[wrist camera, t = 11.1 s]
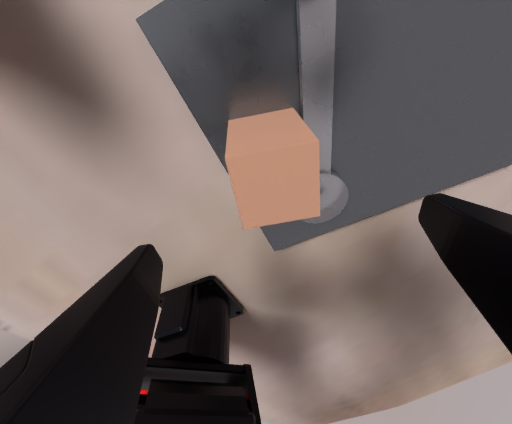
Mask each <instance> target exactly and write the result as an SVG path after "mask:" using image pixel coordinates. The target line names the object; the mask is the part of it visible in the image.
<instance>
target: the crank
mask: <svg viewBox="0 0 512 424" xmlns="http://www.w3.org/2000/svg"><path fill="white" fill-rule="evenodd" d="M296 10H297V33H298V56H299V79H300V103H301V118H302V120H303V121H304V122H305V123H306V125H307V126H308V127H309V129H310V130H311V131H312V132H313V134H314V135H315V136H316V137H317V139H318V140H319V161H320V216H318V217H312V218H307V219H301V220H302V221H304V222H307V223H322V222H326V221H328V220H330V219H332V218H334V217H336V216H337V215H338V214H339V213H340V212H341V211H342V210H343V209H344V207H345V206H346V204H347V201H348V196H349V193H348V189H347V186H346V184H345V183H344V182H343V180H342V179H341V178H340V176H339V175H338V174H337V173H336V172H334V171H333V170H331V150H332V119H333V89H334V58H335V28H336V0H296Z"/></svg>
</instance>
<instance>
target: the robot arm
mask: <svg viewBox="0 0 512 424" xmlns="http://www.w3.org/2000/svg"><path fill="white" fill-rule="evenodd" d="M419 222H420V224H421V226H422V228H423V229H424V231H425V233H426V235H427V236H428V238H429V240H430V241H431V243H432V245H433V246H434V248H435V250H436V251H437V253H438V255H439V256H440V258H441V260H442V261H443V263H444V264H445V266H446V267H447V268H448V270H449V271H450V272H451V274H452V275H453V276H454V278H455V279H456V280H457V282H458V283H459V284H460V286H461V287H462V289H463V290H464V291H465V293H466V294H467V295H468V297H469V298H470V299H471V301H472V302H473V303H474V305H475V306H476V307H477V309H478V310H479V311H480V313H481V314H482V315H483V317H484V318H485V319H486V321H487V322H488V323H489V325H490V326H491V327H492V329H493V330H494V331H495V333H496V334H497V335H498V337H499V338H500V339H501V341H502V342H503V343H504V345H505V346H506V347H507V349H508V350H509V351H510V353H511V354H512V215H511V214H507V213H504V212H501V211H497V210H494V209H491V208H488V207H484V206H481V205H478V204H474V203H471V202H468V201H464V200H461V199H458V198H455V197H451V196H448V195H445V194H441V193H438V194H432V195H427V196H426V197H425V198H424V199H423V202H422V206H421V209H420V212H419ZM162 271H163V262H162V259H161V258H160V256H159V254H158V253H157V251H156V249H155V248H154V246H153V245H152V244H146V245H140V246H138V247H137V248H136V249H134V250H133V251H132V252H131V253H130V254H129V255H128V256H126V257H125V258H124V259H123V260H122V261H121V262H120V263H119V264H117V265H116V266H115V267H114V268H113V269H112V270H111V271H110V272H108V273H107V274H106V275H105V276H104V277H103V278H102V279H100V280H99V281H98V282H97V283H96V284H95V285H94V286H93V287H91V288H90V289H89V290H88V291H87V292H86V293H85V294H84V295H82V296H81V297H80V298H79V299H78V300H77V301H76V302H75V303H73V304H72V305H71V306H70V307H69V308H68V309H67V310H65V311H64V312H63V313H62V314H61V315H60V316H59V317H58V318H56V319H55V320H54V321H53V322H52V323H51V324H50V325H49V326H47V327H46V328H45V329H44V330H43V331H42V332H41V333H40V334H38V335H37V336H36V337H35V338H34V340H33V341H30V342H29V343H28V344H27V345H26V346H25V347H24V348H23V349H21V350H20V351H19V352H18V353H17V354H16V355H15V356H14V357H12V358H11V359H10V360H9V361H8V362H7V363H5V364H4V365H3V366H2V367H1V368H0V424H261V419H260V414H259V408H258V403H257V397H256V391H255V386H254V380H253V375H252V369H251V365H249V364H244V365H233V364H229V339H230V318H233V317H236V316H239V315H242V314H243V308H242V306H241V305H240V304H239V303H238V302H237V301H236V300H235V299H234V298H233V297H232V295H231V294H230V293H229V292H228V291H227V290H226V289H225V288H224V287H223V286H222V284H221V283H220V282H219V281H218V280H217V279H216V278H215V277H213V276H208V277H205V278H202V279H199V280H197V281H194V282H191V283H188V284H186V285H183V286H180V287H178V288H175V289H172V290H169V291H167V292H164V293H161V294H160V291H161V281H162ZM159 306H160V307H161V308H162V310H161V314H160V317H159V321H158V325H157V328H156V332H155V336H154V338H155V339H156V343H155V346H154V350H153V354H152V358H149V357H148V355H149V350H150V346H151V341H152V337H153V332H154V327H155V323H156V318H157V313H158V308H159ZM141 390H148V393H147V394H140V392H141Z"/></svg>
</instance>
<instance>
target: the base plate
mask: <svg viewBox="0 0 512 424" xmlns="http://www.w3.org/2000/svg"><path fill="white" fill-rule="evenodd" d="M136 21H137V23H138V24H139V26H140V28H141V29H142V31H143V33H144V34H145V36H146V38H147V39H148V41H149V43H150V44H151V46H152V48H153V49H154V51H155V53H156V54H157V56H158V58H159V59H160V61H161V63H162V64H163V66H164V68H165V69H166V71H167V73H168V74H169V76H170V78H171V79H172V81H173V83H174V84H175V86H176V88H177V89H178V91H179V93H180V94H181V96H182V98H183V99H184V101H185V103H186V104H187V106H188V108H189V109H190V111H191V113H192V114H193V116H194V118H195V119H196V121H197V123H198V124H199V126H200V128H201V129H202V131H203V133H204V134H205V136H206V138H207V139H208V141H209V143H210V144H211V146H212V148H213V149H214V151H215V153H216V154H217V156H218V158H219V159H220V161H221V163H222V164H223V166H224V168H225V169H226V171H227V173H228V169H227V165H226V162H225V151H226V140H227V130H228V120H233V119H238V118H243V117H248V116H253V115H258V114H263V113H268V112H273V111H278V110H284V109H289V108H294V109H295V111H296V112H297V113H298V115H299V116H300V117H301V103H300V79H299V56H298V33H297V10H296V0H164V1H162V2H161V3H159V4H158V5H156V6H155V7H153V8H152V9H150V10H149V11H147V12H146V13H144V14H143V15H141V16H140V17H138V18H137V19H136ZM511 164H512V0H336V28H335V58H334V89H333V119H332V150H331V170H333V171H334V172H336V173H337V174H338V175H339V176H340V178H341V179H342V180H343V182H344V183H345V184H346V186H347V189H348V193H349V196H348V201H347V204H346V206H345V207H344V209H343V210H342V211H341V212H340V213H339V214H338V215H337V216H336V217H334V218H332V219H330V220H328V221H326V222H322V223H307V222H304V221H302V220H295V221H289V222H284V223H278V224H272V225H266V226H261V227H260V228H261V229H262V231H263V233H264V234H265V236H266V238H267V239H268V241H269V243H270V244H271V246H272V248H273V249H274V251H277V250H280V249H283V248H285V247H288V246H291V245H294V244H296V243H299V242H302V241H305V240H307V239H310V238H313V237H315V236H318V235H321V234H324V233H326V232H329V231H332V230H334V229H337V228H340V227H343V226H345V225H348V224H351V223H353V222H356V221H359V220H362V219H364V218H367V217H370V216H372V215H375V214H378V213H381V212H383V211H386V210H389V209H392V208H394V207H397V206H400V205H402V204H405V203H408V202H411V201H413V200H416V199H419V198H421V197H424V196H427V195H430V194H432V193H435V192H438V191H440V190H443V189H446V188H449V187H451V186H454V185H457V184H460V183H462V182H465V181H468V180H470V179H473V178H476V177H479V176H481V175H484V174H487V173H489V172H492V171H495V170H498V169H500V168H503V167H506V166H508V165H511ZM228 174H229V173H228Z"/></svg>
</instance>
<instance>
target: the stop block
mask: <svg viewBox="0 0 512 424" xmlns="http://www.w3.org/2000/svg"><path fill="white" fill-rule="evenodd" d="M225 162H226V165H227V169H228V173H229V177H230V180H231V184H232V188H233V192H234V195H235V199H236V203H237V207H238V210H239V214H240V218H241V221H242V225H243V229H249V228H255V227H261V226H266V225H272V224H278V223H284V222H289V221H295V220H301V219H307V218H312V217H318V216H320V161H319V140H318V139H317V137H316V136H315V135H314V134H313V132H312V131H311V130H310V129H309V127H308V126H307V125H306V123H305V122H304V121H303V120H302V118H301V117H300V116H299V115H298V113H297V112H296V111H295V109H294V108H289V109H284V110H278V111H273V112H268V113H263V114H258V115H253V116H248V117H243V118H238V119H233V120H228V130H227V140H226V151H225Z"/></svg>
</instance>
